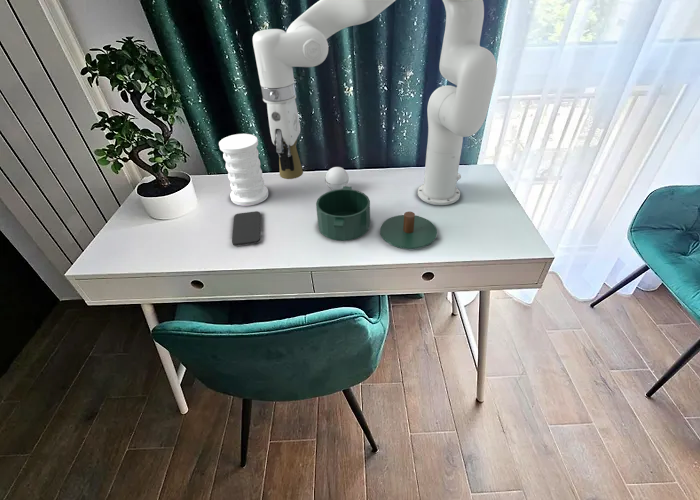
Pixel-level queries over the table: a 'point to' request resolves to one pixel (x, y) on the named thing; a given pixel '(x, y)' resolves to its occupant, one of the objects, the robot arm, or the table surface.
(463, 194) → the table surface
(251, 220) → the phone
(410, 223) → the lid
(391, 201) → the table surface
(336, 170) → the white rounded upright piece
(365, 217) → the pot
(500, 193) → the table surface
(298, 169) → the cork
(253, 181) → the decorative container
